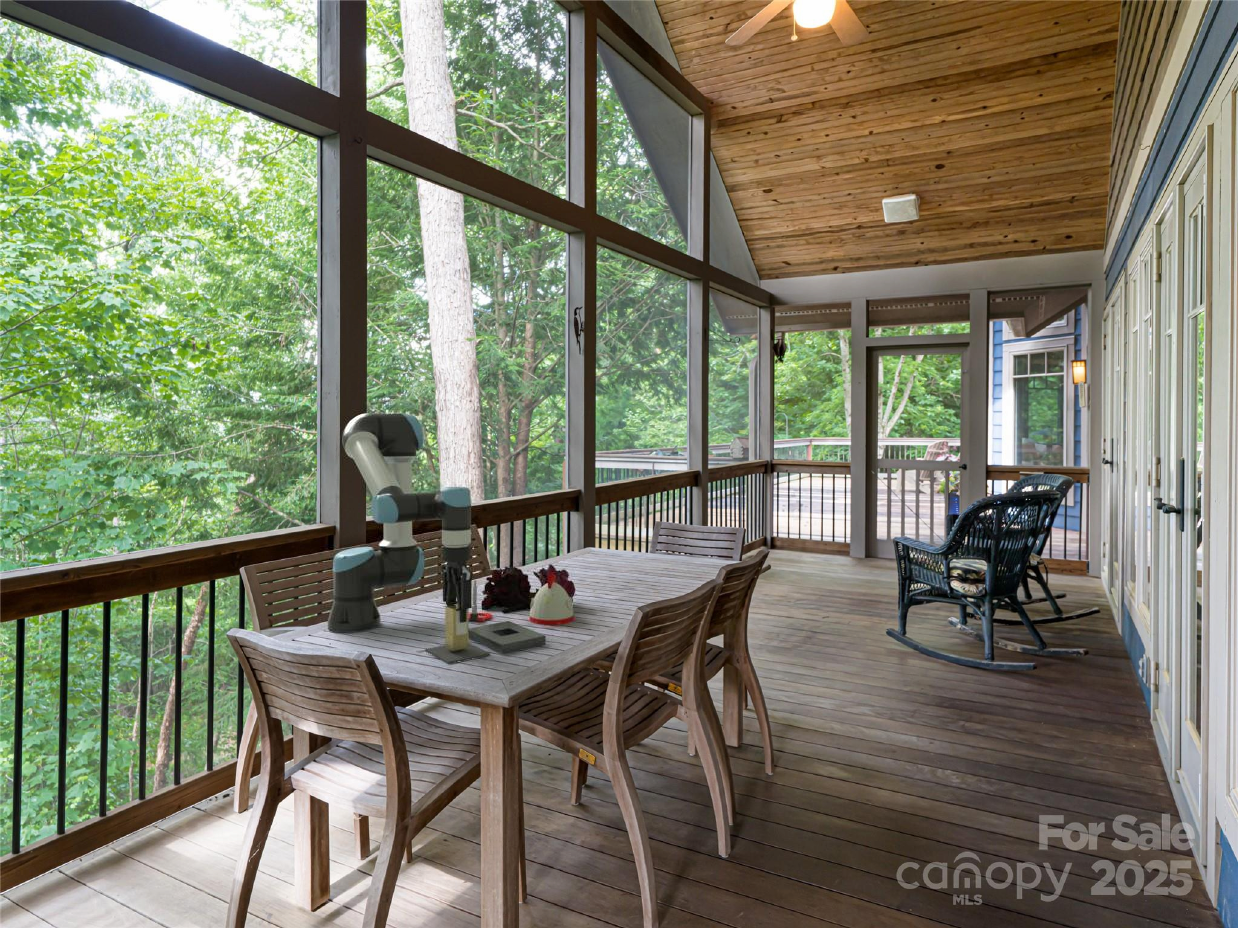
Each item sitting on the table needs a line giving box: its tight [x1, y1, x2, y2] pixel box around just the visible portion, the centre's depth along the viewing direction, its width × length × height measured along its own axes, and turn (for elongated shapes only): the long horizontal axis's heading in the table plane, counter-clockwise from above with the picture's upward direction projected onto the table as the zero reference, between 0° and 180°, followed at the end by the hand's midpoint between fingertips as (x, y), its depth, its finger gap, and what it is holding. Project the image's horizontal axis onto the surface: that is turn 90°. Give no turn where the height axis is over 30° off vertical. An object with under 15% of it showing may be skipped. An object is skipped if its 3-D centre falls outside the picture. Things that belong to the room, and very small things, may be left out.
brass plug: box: [444, 604, 470, 651], centre depth 193 cm, size 4×4×11 cm
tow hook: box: [469, 579, 493, 623], centre depth 230 cm, size 8×13×9 cm
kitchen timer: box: [529, 572, 575, 626], centre depth 229 cm, size 14×14×15 cm
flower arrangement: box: [481, 563, 576, 614], centre depth 246 cm, size 31×20×15 cm, turn 88°
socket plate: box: [469, 620, 547, 655], centre depth 205 cm, size 20×14×2 cm
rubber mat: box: [424, 642, 491, 665], centre depth 194 cm, size 14×12×1 cm
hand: (457, 631), depth 194 cm, fingers closed on brass plug, 4 cm apart
